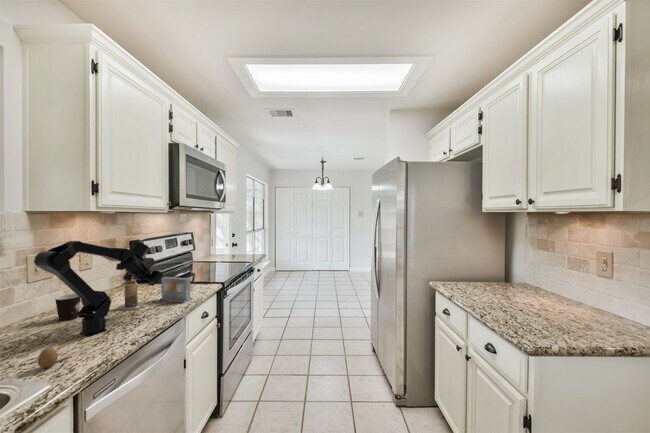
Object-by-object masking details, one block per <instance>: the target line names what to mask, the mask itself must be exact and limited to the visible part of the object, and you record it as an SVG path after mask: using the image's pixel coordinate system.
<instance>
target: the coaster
mask: <svg viewBox="0 0 650 433" xmlns="http://www.w3.org/2000/svg"><path fill="white" fill-rule="evenodd" d="M143 307H145V303H144V302H138V301H137V306H135V307H129V308H126V307H125V303H124V304H121V305H120V306H118V307H117V310H118V311H122V312H124V311H134V310H137V309H141V308H143Z"/></svg>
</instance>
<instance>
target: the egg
mask: <svg viewBox="0 0 650 433" xmlns="http://www.w3.org/2000/svg"><path fill="white" fill-rule="evenodd" d="M58 358H59V355H58V352H57V350H56V349H55V348H53V347H46V348H44V349H43V350H42V351H41V352H40V354H39V356H38V359H37V365H38V366H39V367H40V368H42V369H48V368H51V367H52V366H54V365H55V364H56V362H57V361H58Z"/></svg>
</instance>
